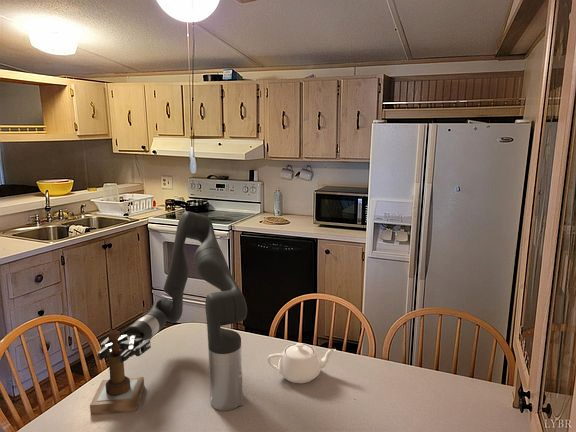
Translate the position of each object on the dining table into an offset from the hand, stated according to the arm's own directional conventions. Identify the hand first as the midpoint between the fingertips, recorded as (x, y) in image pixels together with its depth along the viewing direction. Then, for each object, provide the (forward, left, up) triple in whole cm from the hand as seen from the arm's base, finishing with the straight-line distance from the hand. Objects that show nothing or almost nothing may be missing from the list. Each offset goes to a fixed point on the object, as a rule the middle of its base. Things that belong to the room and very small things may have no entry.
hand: (109, 358), depth 116 cm
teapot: (-56, -7, -15) cm, 58 cm away
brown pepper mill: (-1, -2, -12) cm, 12 cm away
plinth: (-1, -2, -14) cm, 15 cm away
